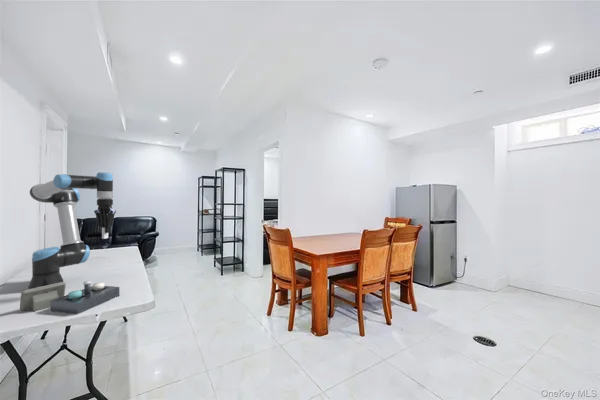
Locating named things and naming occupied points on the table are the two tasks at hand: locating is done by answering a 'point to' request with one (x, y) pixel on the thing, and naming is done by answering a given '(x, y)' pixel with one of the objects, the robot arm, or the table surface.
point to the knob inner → (98, 286)
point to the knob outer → (75, 295)
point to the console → (84, 300)
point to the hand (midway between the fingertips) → (105, 238)
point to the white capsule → (87, 287)
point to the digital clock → (41, 296)
